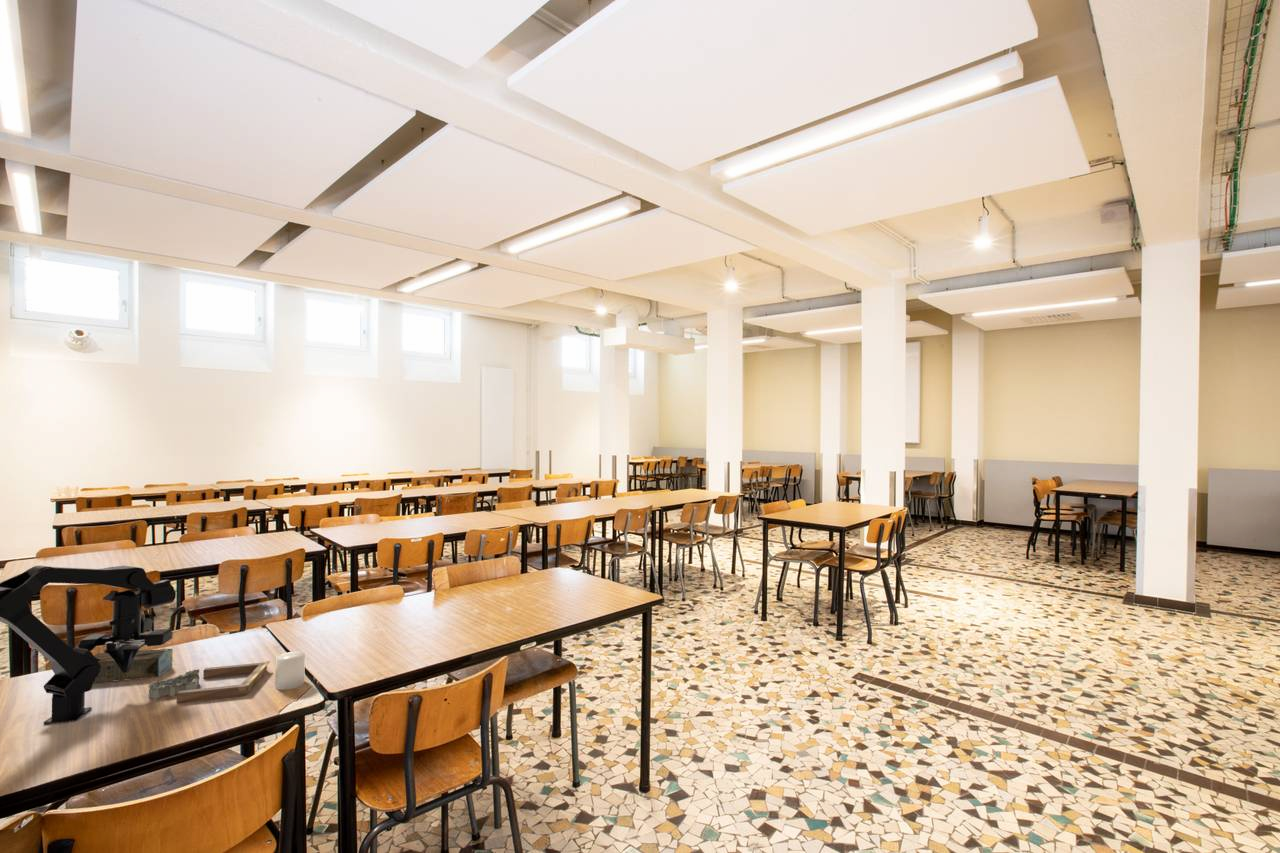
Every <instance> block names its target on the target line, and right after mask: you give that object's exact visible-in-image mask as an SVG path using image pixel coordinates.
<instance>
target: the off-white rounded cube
mask: <svg viewBox="0 0 1280 853" xmlns="http://www.w3.org/2000/svg"><path fill="white" fill-rule="evenodd" d="M305 660H306V654H305V652H304V651H299V650H296V651H290V652H284V653H282V654H279V655H277V656H276V657H275V674H274V676H275V678H274V679H275V682H274V685H275V686H274V688H275V690H278V691H287V690H288V691H289V690H294V689H297V688H299V687H301V686H303V685H304V684H305V668H306V667H305V665H306V664H305V662H306V661H305Z"/></svg>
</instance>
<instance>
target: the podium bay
mask: <svg viewBox="0 0 1280 853" xmlns="http://www.w3.org/2000/svg"><path fill="white" fill-rule="evenodd" d="M270 662H271V660H267V661H265V662H254V663H243V664H242V663H241V664H233V665H223V666H212V667H205V668H204V669H203V674H202V677H203V679H213V678H225V677H235V676H243V675H245V676H246V675H248V676H247V677H246V678H245V679H244V680H243V681H242V683H241V684H235V685H225V686H223V685H222V686H214V687H206V688H205V687H204V688H197V689H193V690H184V691H179V692H178V693H177V694H176V704H179V703H188V702H189V703H190V702H199V701H208V700H209V701H210V700H218V699H227V698H235V697H245V696H246V695H247V694H248V693H249V692H250V690H252V688H253V687H254V686H255V685H256V684H257V682H259V681H260V679H261V678H262V676H264V675H265V673H267V669H268V665H269V664H270Z"/></svg>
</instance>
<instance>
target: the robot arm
mask: <svg viewBox="0 0 1280 853" xmlns="http://www.w3.org/2000/svg"><path fill="white" fill-rule="evenodd" d="M171 583H172V582H171V580H170V579H163V580H160V581H156V582H153V581H152V580H151V579H149V577H147V572H146V571H145V569H144V568H142V567H140V566H138V567H137V566H132V565H131V566H129V565H128V566H127V565H118V566H117V565H116V566H109V567H105V568H85V567H84V568H81V567H63V566H62V567H59V566H57V567H56V566H47V565H35V566H32V567H29V568H28V569H27V570H25V571H24V572H21V573H19V574H17V575H14V576H12V577H10V578H8V579H5V580H3V581H1V582H0V622H1V623H3V624H5V625H7V626H8V627H9V628H10V629H12V630H13V631H14V632H15V633H16V634H17V635H19V636H20V637H21V638H22V639H23V640H24V641H25V642H27V644H28V645H30V646H31V647H33V648H34V649H35V650H36V651H37V652H38V653H39V654H41V655H42V656H43V657H44V658H45V659H46V660H47V661H49V663H50V667H51V670H52V672H53V676H52V677H50V679H49V680H48V681H47V682H45V684H44V685H43V689H44V691H45V692H46V694H51V695H52V696H51V697H52V698H51V716H50V717H49V718H47V719H46V720H45V721H43V724H44V725H49V724H57V723H59V724H60V723H68V722H75V721H77V720H79V719H80V718H82V717H83V716H84V715H86V714H87V713H89V712H90V711H91V710H93V708H92V706H89V707H86V706H85V698H86V697H85V696H86V693H87V692H89V691H91V690H92V688H93V685H94V681H95V678H96V677H97V676H98V674H99V672H100V669H101V665H100V664H99V663H98V661H100V659H97V658H95V657H94V656H95V655H94V653H92V651H93V650H94V649H96V646H97V647H99V646H105V650H103V653H108V654H109V655H110V656H111V657H112V658H113V659H114V660H115V662H116V663H117V665H118V666H119V668H120V669H121V671H122V672H123V673H127V672H128V671H129V669H130V667H131V664H132V662H133V660H134V658H135V655H136V654H137V652H138V651H139V650H140V649H141V648H143V647H145V646H147V647H157V646H162V645H164V644H166V643H167V642H169V641H170V640H172V639H173V636H174V635H173V633H174V632H173V631H172V630H171V628H165V629H164V628H162V629H155V630H152V627H153V621H154V619H150V618H145V614H144V613H142V607H143V608H145V609H146V610H147V609H152V608H156V607H160V606H164V605H169V604H172V603H173V602H175V600H176V596H177V595H176V594H177V593H176V590H175V588H174V586H173V585H172V584H171ZM49 584H80V585H83V584H85V585H87V584H88V585H102V586H106V587H113V588H119V589H125V590H121V591H118V590H115V589H114V590H113V589H111V590H110V591H109V593H108V594H106V595H105V596H103V597H102V600H103V601H107V602H112V619H111V620H110V621H109V626H112V630H111V631H112V633H111V635H110V636H109V634H108V633H95V634H90V635H88V636H87V637H84V638H82V639H81V640H79V642H78V644H77V645H76V646H77V647H73V648H72V647H70V645H68V644H67V643H66V642H65V641H64V640H62V639H61V637H59V636H58V634H55V632H53V630H51V629H50V627H49V626H47V625H46V624H45V623H44V622H42V621H41V620H40V619H39V618H38V617H37V616H35V614H34V613H33V612H32V610H31V604H30V603H29V602H30V601H28V600H30V599H31V598H33V597H34V596H35V595H36V594H38V593H39V592H40V590H42V589H43V588H44V587H45V586H47V585H49ZM133 590H136V591H133ZM147 632H149V633H147ZM145 633H147V634H145Z"/></svg>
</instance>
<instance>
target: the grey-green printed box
mask: <svg viewBox="0 0 1280 853" xmlns="http://www.w3.org/2000/svg"><path fill="white" fill-rule="evenodd" d="M93 656H94V657H95V658H97V659H100V661H98V663H99V664H100V665H101V669H100V672H99V674H98V676H97V677H96V678H95V681H94V683H104V681H106V682H114V681H113V680H119V681H126V680H125V679H131V680H139V679H140V678H142V679H150V678H151V679H153V678H159V677H161V676H163V675H164V673H166V672H168V671H169V670H171V668H172V667H173V662H174V660H173V648H160V649H143V650H142V649H141V650H140V649H139V650H138V652H137V654H136V655H135V658H134V660H133V662H132V664H131V667H130V669H129V671H128V672H127V673H123V672H122V671H121V669H120V668H119V666H118V665H117V663H116V662H115V660H114V659H113V658H112V657H111V656H110V655H109V654H108V653H104V652H98V653H96V655H93ZM152 677H153V678H152ZM140 680H141V679H140ZM94 683H93V684H94Z"/></svg>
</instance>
